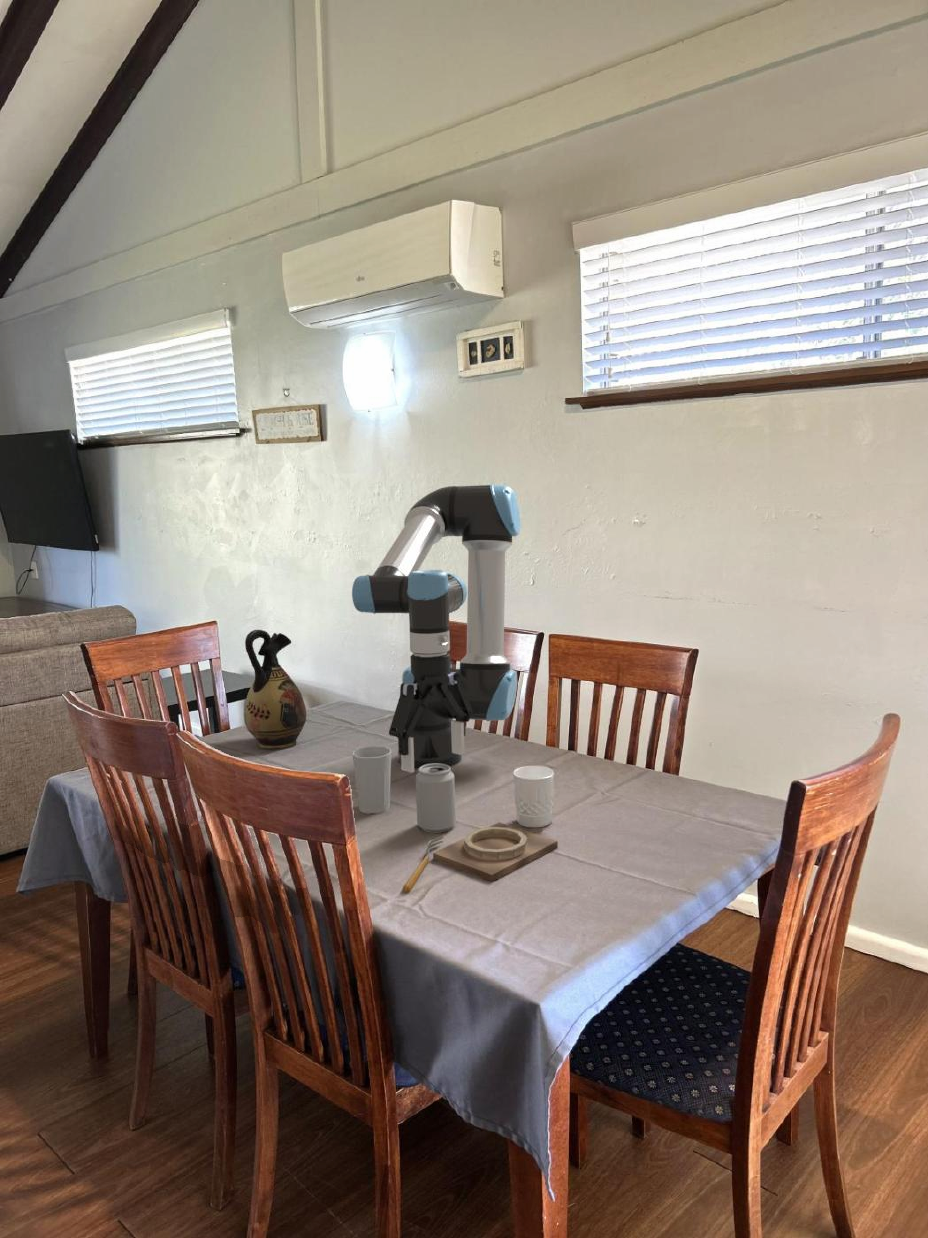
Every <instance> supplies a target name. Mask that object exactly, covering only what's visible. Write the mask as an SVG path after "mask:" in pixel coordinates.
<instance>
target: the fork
mask: <svg viewBox="0 0 928 1238" xmlns="http://www.w3.org/2000/svg"><path fill="white" fill-rule="evenodd" d="M444 838H445V836H441V837H440V836H439V837H437V838H434V839H431V840H429V841H428V843H427V845H426V849H425V857H424V858H423V859H422V861H421V862H420V863H419V865H418V866H417V868H416V869H415V870H414V872H413V873H412V874H411V875H410V877H409V879H407V881H406V883H405V884H404V885H403V886H402V892H403V893H405V894H407V893H410V892H411V891H412V889H413V888H414V886H415V884H416V882H417V881H418V879H419V877H420V875H421V874H422V873H423V871H424V869H425V868H426V866H427V864H428V863H429V861H430V855H431V853H430V852H431V851H432V850H434V849H436V848H438V847H441V843H444V840H442V839H444Z"/></svg>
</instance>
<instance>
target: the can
mask: <svg viewBox="0 0 928 1238" xmlns="http://www.w3.org/2000/svg"><path fill="white" fill-rule="evenodd" d="M451 769H452V768H451V766H448V765H446V764H440V763H432V764H426V765H423V766H421V767H420V768H419V769H418V772H417V774H416V775H415V794H416V795H415V796H416V798H415V799H416V820H417V826H418V827H419V828H421V829H422V830H423V831H425V832H427V833H444V832H447V831H449V830H451V828H453V827H454V826H455V825H456V824H457V822H456V820H457V818H456V793H455V792H456V791H455V790H456V789H455V773H453V771H451Z"/></svg>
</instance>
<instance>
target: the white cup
mask: <svg viewBox="0 0 928 1238" xmlns="http://www.w3.org/2000/svg"><path fill="white" fill-rule="evenodd" d="M512 775H513V789H514V791H513V792H514V801H515V808H516V821H517V823H518V824H519V825H521V826H524V827H527V828H543V827H545V826H548V825H550V824H551V823H552V814H553V813H552V811H553V808H554V806H553V805H554V804H553V803H554V789H555V787H554V783H555V781H554V780H555V772H554V770H553V769H552V768H550V767H547V766H544V765H543V766H542V765H526V766H525V765H524V766H521V767H518V768H516V769H514V770H513V773H512Z"/></svg>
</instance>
